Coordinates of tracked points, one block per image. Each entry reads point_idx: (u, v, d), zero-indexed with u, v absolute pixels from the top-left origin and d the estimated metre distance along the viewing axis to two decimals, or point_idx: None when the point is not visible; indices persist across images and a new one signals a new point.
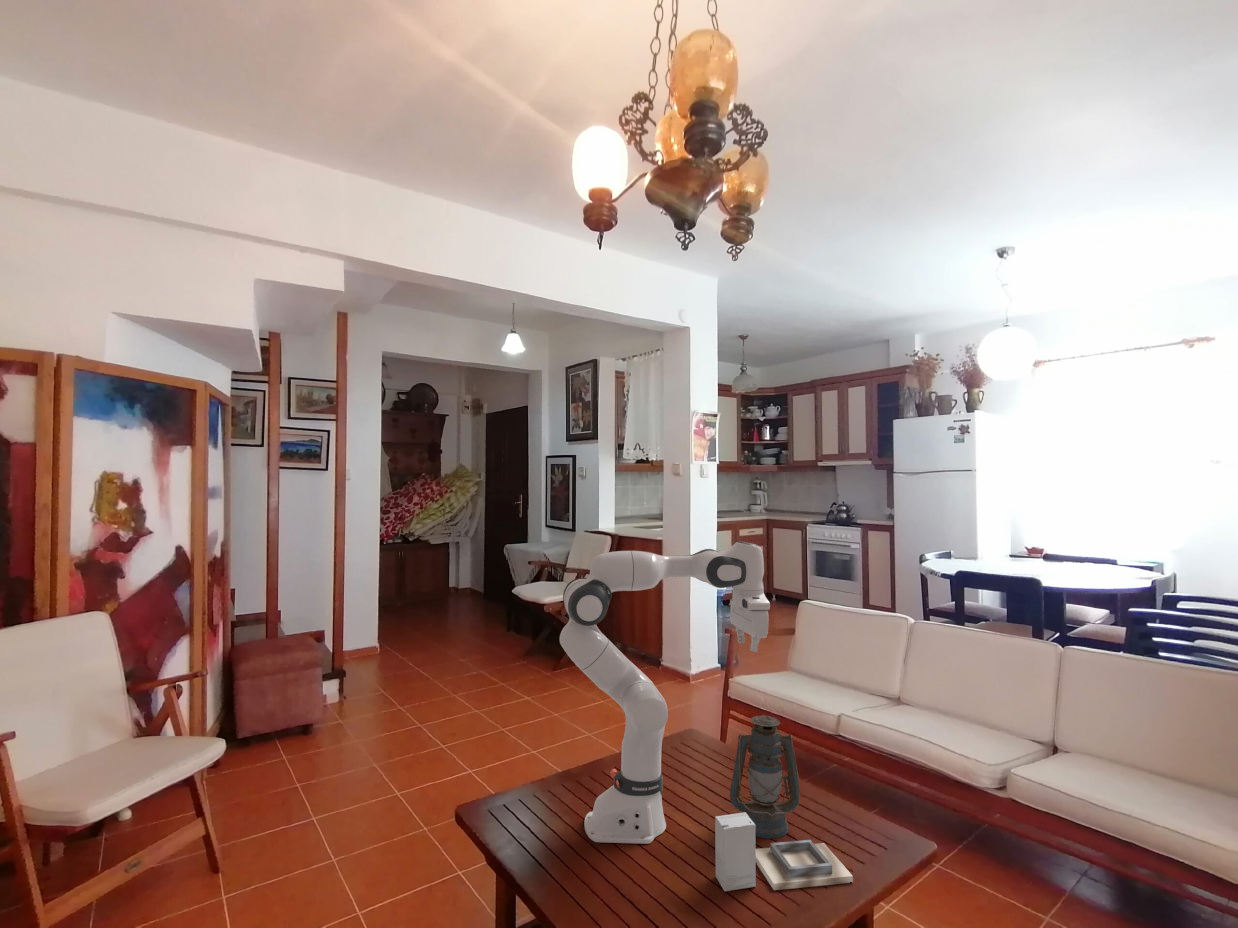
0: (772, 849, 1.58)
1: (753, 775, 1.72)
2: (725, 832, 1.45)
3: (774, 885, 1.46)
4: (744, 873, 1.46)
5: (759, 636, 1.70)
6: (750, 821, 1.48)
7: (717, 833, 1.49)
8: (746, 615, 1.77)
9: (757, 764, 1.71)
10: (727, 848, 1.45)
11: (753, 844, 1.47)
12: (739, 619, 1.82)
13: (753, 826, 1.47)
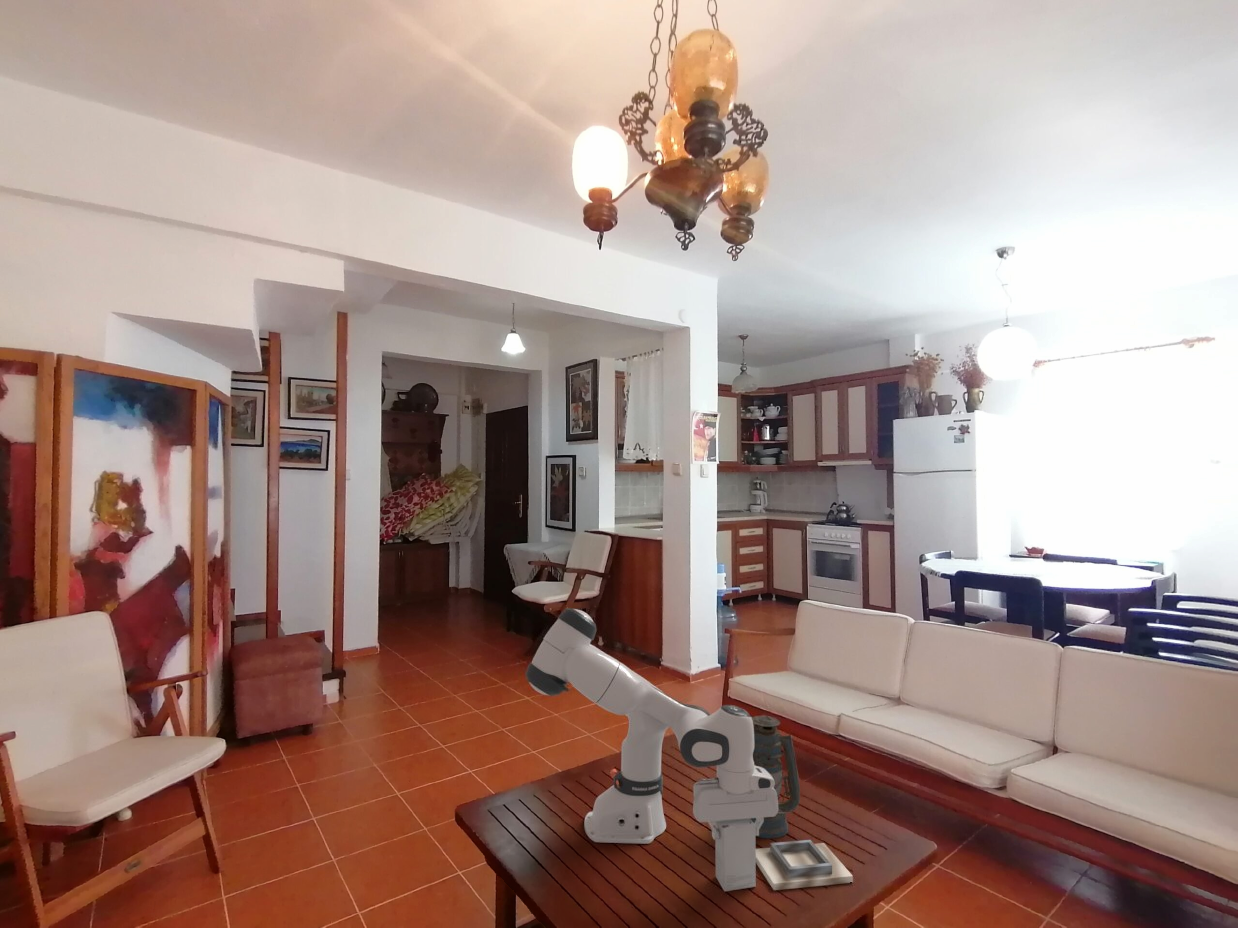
0: (772, 849, 1.58)
1: None
2: (725, 832, 1.45)
3: (774, 885, 1.46)
4: (744, 873, 1.46)
5: None
6: (750, 821, 1.48)
7: None
8: (749, 797, 1.48)
9: (757, 764, 1.71)
10: (727, 849, 1.45)
11: (753, 844, 1.47)
12: (730, 809, 1.47)
13: (753, 826, 1.47)
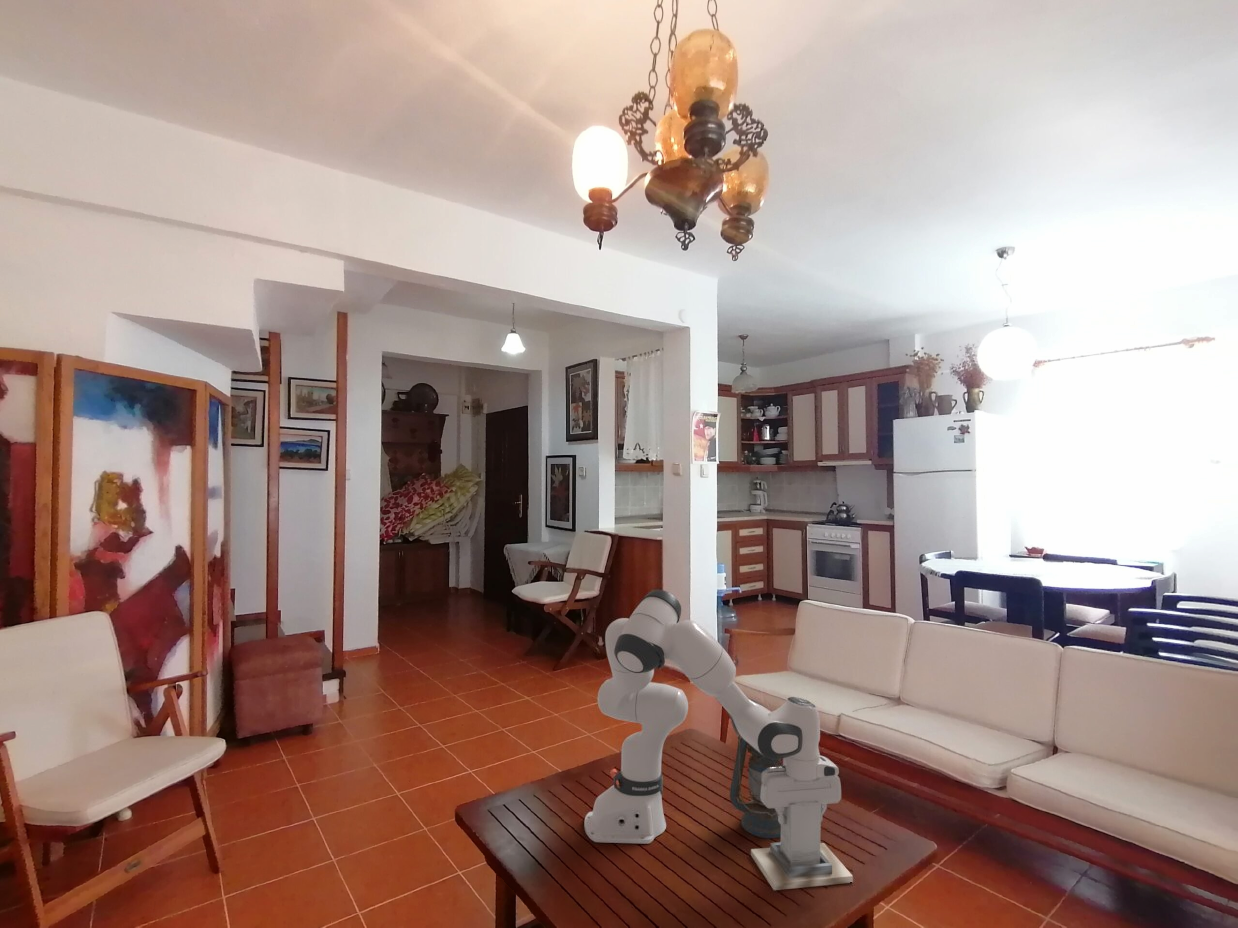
0: (772, 849, 1.58)
1: (753, 775, 1.72)
2: (792, 809, 1.52)
3: (774, 885, 1.46)
4: (809, 849, 1.53)
5: None
6: None
7: (783, 810, 1.56)
8: (814, 784, 1.55)
9: (757, 764, 1.71)
10: (794, 825, 1.52)
11: (818, 822, 1.53)
12: (797, 795, 1.54)
13: (819, 805, 1.54)
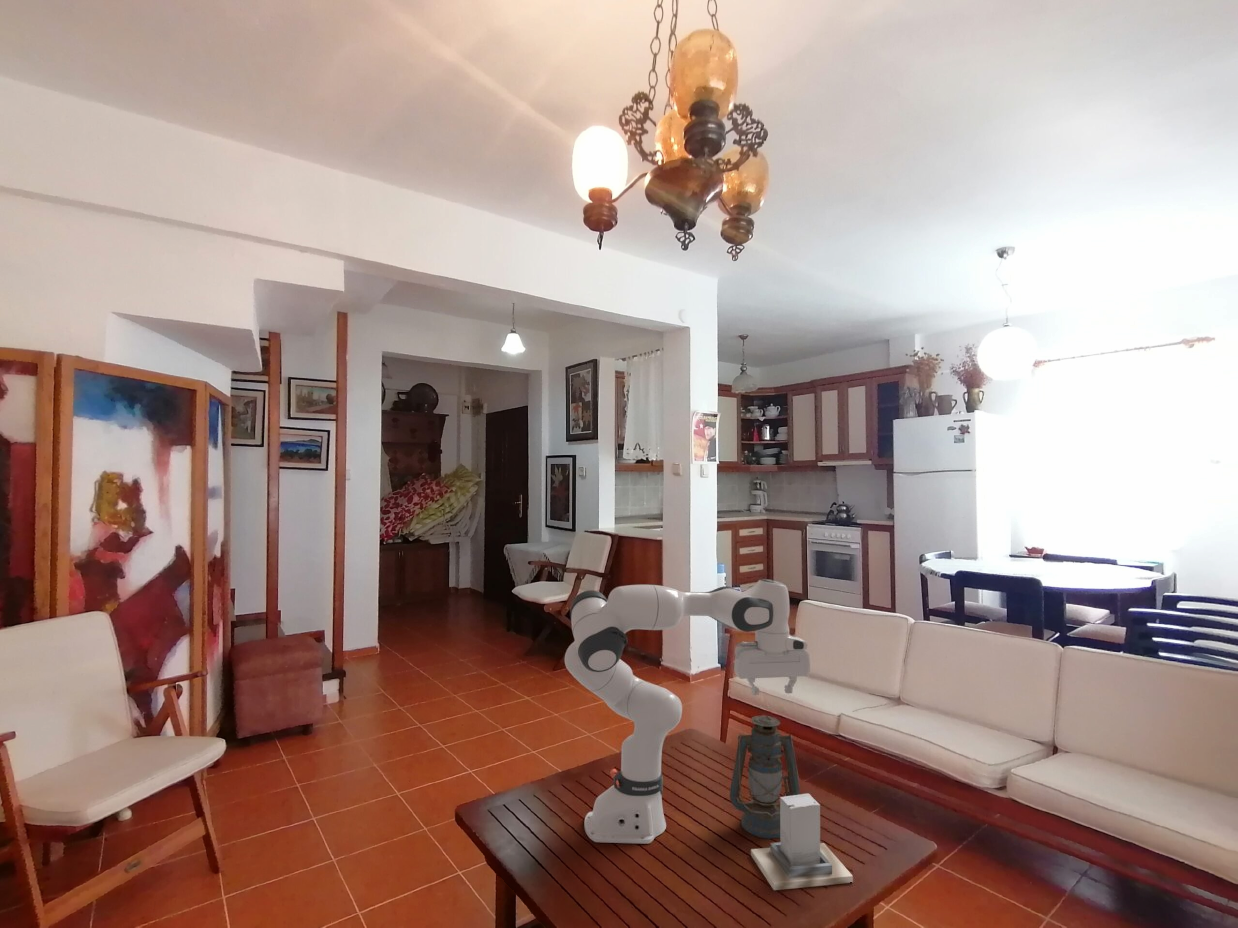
0: (772, 849, 1.58)
1: (753, 775, 1.72)
2: (791, 812, 1.52)
3: (774, 885, 1.46)
4: (809, 850, 1.53)
5: None
6: (814, 801, 1.55)
7: (782, 812, 1.56)
8: (784, 658, 1.66)
9: (757, 764, 1.71)
10: (793, 827, 1.52)
11: (818, 823, 1.54)
12: (768, 667, 1.64)
13: (818, 806, 1.54)
